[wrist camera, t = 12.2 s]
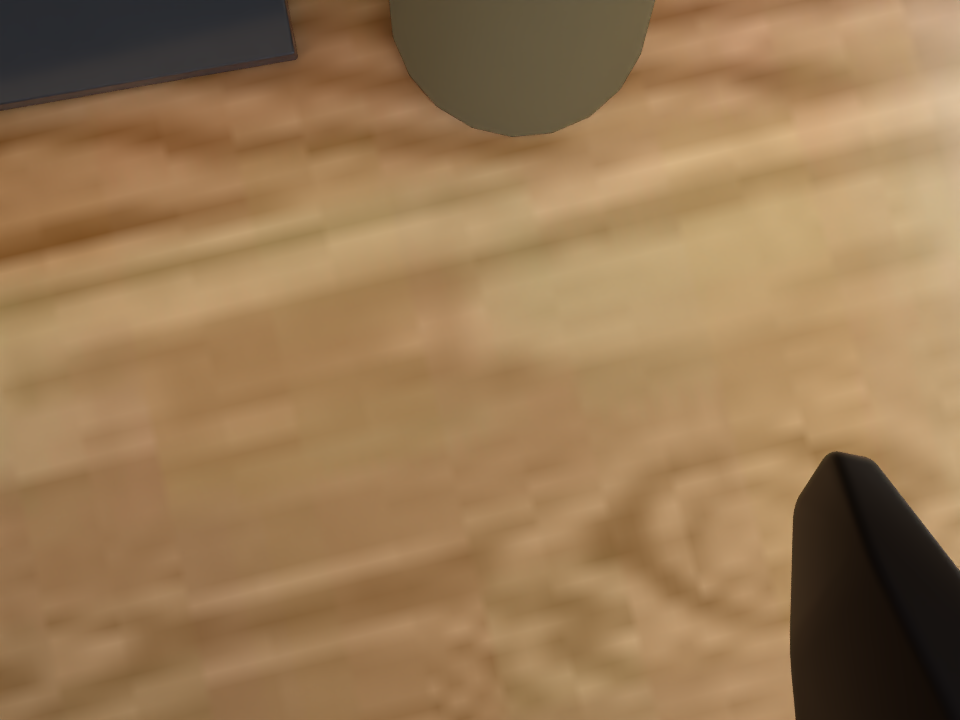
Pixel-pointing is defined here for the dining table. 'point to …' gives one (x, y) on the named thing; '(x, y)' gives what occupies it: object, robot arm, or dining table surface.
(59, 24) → the slate coaster
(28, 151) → the dining table surface
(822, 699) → the robot arm
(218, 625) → the dining table surface
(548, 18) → the brown game pawn
